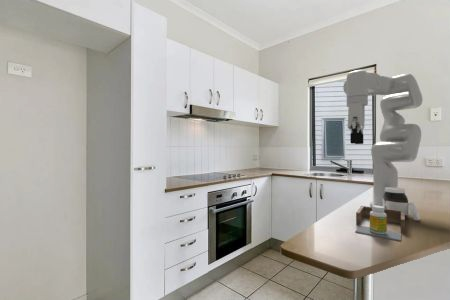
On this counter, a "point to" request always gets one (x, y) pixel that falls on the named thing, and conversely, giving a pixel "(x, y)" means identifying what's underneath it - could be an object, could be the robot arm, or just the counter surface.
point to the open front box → (391, 214)
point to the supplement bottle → (378, 220)
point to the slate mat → (388, 235)
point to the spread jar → (398, 201)
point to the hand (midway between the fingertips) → (357, 143)
